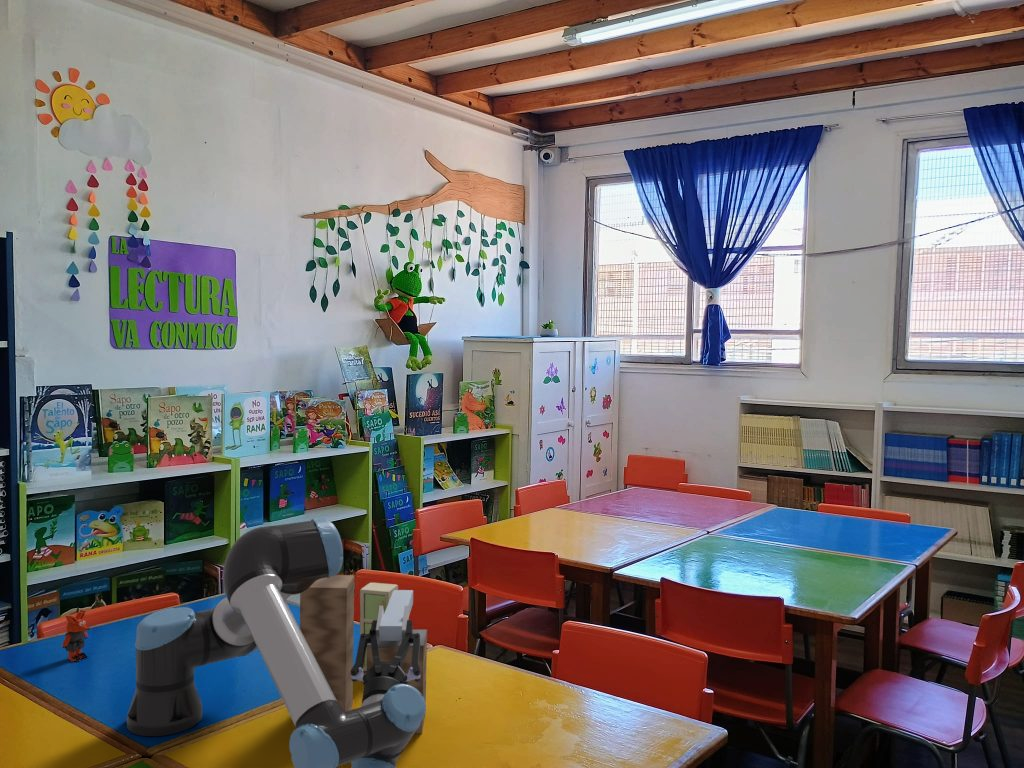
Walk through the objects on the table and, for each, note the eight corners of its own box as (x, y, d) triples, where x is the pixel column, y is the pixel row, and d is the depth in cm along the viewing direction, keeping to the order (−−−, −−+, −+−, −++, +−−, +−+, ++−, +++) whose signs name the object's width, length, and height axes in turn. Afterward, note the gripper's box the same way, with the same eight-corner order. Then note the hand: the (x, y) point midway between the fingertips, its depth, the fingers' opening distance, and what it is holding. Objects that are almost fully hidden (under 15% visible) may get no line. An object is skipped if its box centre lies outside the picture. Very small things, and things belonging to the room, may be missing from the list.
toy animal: (77, 666, 210) (77, 619, 210) (59, 663, 211) (59, 617, 211) (100, 655, 218) (100, 609, 217) (82, 652, 219) (82, 607, 219)
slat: (379, 640, 167) (379, 626, 167) (393, 602, 193) (393, 590, 193) (401, 640, 167) (401, 626, 167) (413, 602, 193) (413, 590, 193)
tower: (298, 724, 181) (300, 587, 179) (308, 704, 191) (310, 574, 189) (345, 724, 181) (346, 587, 180) (352, 704, 191) (354, 575, 190)
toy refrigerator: (357, 671, 210) (358, 589, 210) (369, 661, 218) (370, 581, 217) (387, 675, 209) (388, 592, 208) (398, 664, 216) (399, 584, 215)
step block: (365, 733, 177) (366, 644, 176) (371, 712, 187) (373, 629, 186) (422, 733, 178) (423, 645, 177) (425, 712, 188) (427, 629, 187)
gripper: (335, 718, 156) (353, 622, 176) (429, 718, 156) (436, 622, 176) (332, 692, 152) (350, 597, 172) (428, 692, 152) (436, 597, 172)
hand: (394, 610), depth 174 cm, fingers closed on slat, 4 cm apart
